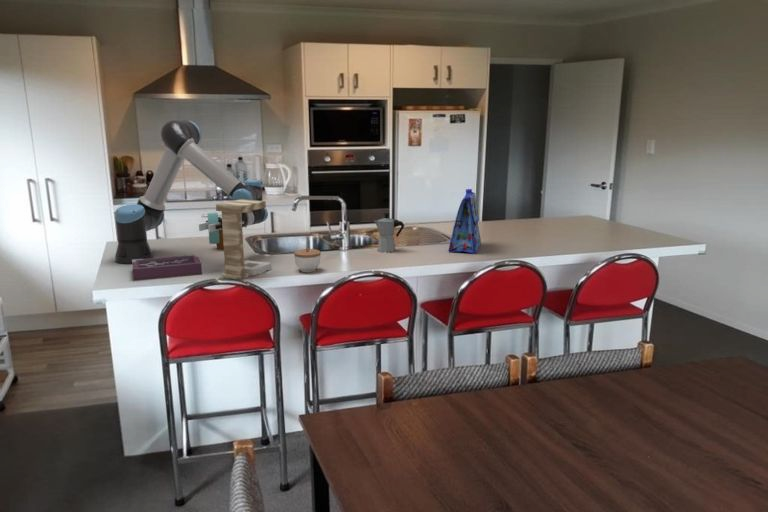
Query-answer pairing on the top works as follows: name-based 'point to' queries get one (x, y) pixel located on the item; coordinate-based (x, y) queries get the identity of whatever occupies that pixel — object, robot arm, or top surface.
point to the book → (166, 267)
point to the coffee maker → (387, 233)
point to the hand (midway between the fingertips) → (204, 228)
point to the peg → (214, 234)
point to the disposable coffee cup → (220, 245)
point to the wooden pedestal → (235, 234)
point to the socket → (255, 267)
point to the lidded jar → (307, 259)
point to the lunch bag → (466, 226)
